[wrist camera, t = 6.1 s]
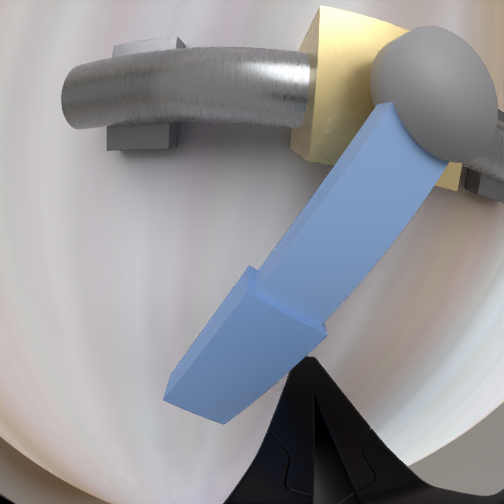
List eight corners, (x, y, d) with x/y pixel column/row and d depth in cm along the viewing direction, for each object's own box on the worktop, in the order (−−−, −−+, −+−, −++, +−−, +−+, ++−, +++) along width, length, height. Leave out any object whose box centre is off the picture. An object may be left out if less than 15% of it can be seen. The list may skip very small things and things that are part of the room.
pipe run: (509, 123, 10) (584, 140, 4) (499, 199, 12) (569, 239, 6) (116, 52, 10) (32, 24, 4) (110, 148, 12) (20, 172, 6)
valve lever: (404, 17, 4) (427, 2, 3) (482, 99, 5) (510, 100, 4) (160, 368, 9) (151, 394, 8) (236, 401, 9) (234, 428, 8)
